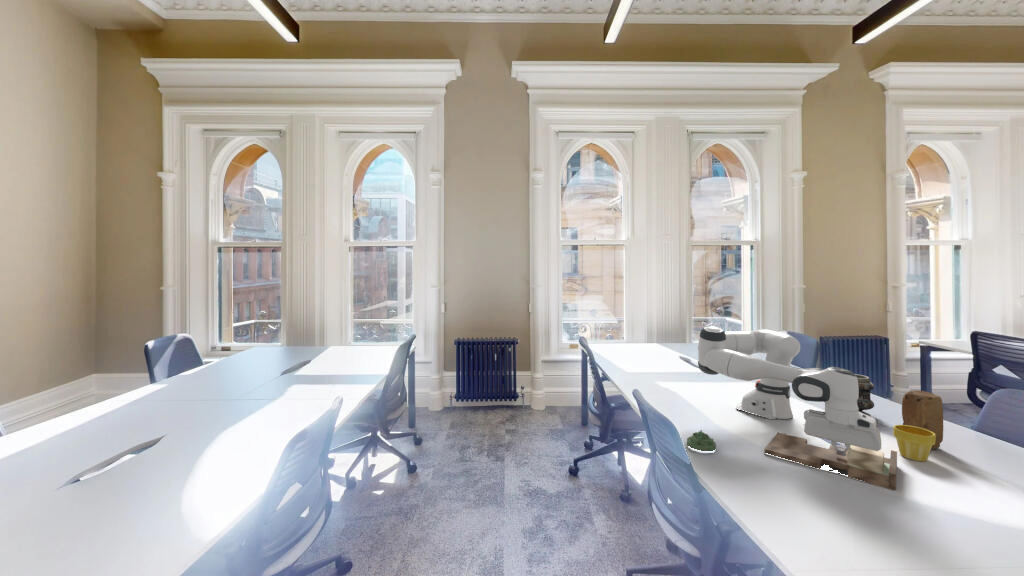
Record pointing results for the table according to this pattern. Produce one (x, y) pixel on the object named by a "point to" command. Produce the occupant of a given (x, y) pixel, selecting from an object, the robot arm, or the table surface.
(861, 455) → the maple block
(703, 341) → the robot arm
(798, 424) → the table surface
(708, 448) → the decorative artifact
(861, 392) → the apothecary jar
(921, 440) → the plant pot
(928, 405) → the block
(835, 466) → the box
